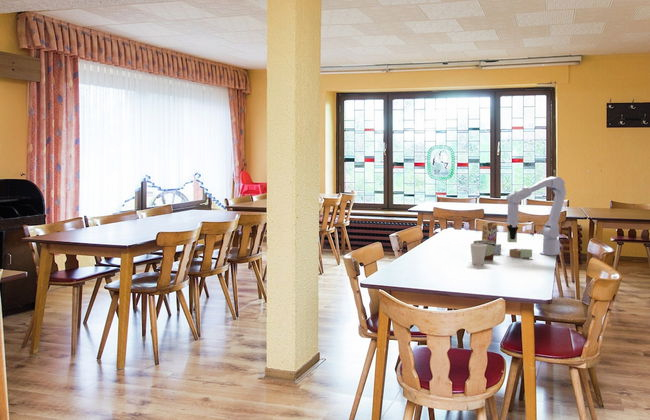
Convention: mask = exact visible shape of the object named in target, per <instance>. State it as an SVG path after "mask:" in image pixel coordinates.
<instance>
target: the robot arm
mask: <svg viewBox="0 0 650 420" xmlns="http://www.w3.org/2000/svg"><path fill="white" fill-rule="evenodd" d="M565 183H566V182H565V180H564V179H563V178H562V177H559V176H553V175H552V176H548V177H545V178H543V179H542V180H539V181H538V182H536V183H534V184H533V185H531V186H522V187H521V188H520V189H518V190H514V191H513V192H511V193H509V194H508V195H507V196H506V201H507V220H506V221H505V222H504V223H505V224H507V225H506V228H507V232H510V238H511V239H515V236H516V232H517V231H518V230H519V227H518V224H519V203H520V202H521V201H523V200H525V199H527V198H529V197H531V195H532V193H533V192H536V191H538V190H540V189H541V190H542V189H543V188H549V189H550V190H552V192H554V197H553V201H552V206H551V210H550V213H549V217H548V221H546V222H545V225H544V226H543V228H542V229H541V234H542V236H543V242H542V252H539V254H540V255H544V256H557V255H562V253H561V241H560V240H559V239H558V237H559V236H560V231H559V229H560V225H559V220H560V218H561V217H560V216H561V213H562V209H563V205H564V202H565V199H566V195H567V190H566V186H565ZM517 233H518V232H517Z"/></svg>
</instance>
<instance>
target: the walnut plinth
mask: <svg viewBox="0 0 650 420" xmlns="http://www.w3.org/2000/svg"><path fill="white" fill-rule="evenodd" d="M521 249H522V248H511V249H509V257H511V258H517V259H518V258H519V259H520V258H521V257H520V253H521Z"/></svg>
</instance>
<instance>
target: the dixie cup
mask: <svg viewBox="0 0 650 420" xmlns="http://www.w3.org/2000/svg"><path fill="white" fill-rule="evenodd" d="M469 246H470V253H471V263H473V265H478V264H479V265H480V264H481V265H484V264H485V261H484V258H485V251H486V246H487V245H486V244H480V243H470V245H469Z"/></svg>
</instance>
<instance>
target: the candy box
mask: <svg viewBox="0 0 650 420" xmlns="http://www.w3.org/2000/svg"><path fill="white" fill-rule="evenodd" d="M497 232H498V222H497V221H484V222H482V231H481V233H482V235H481V240H484V241H494V242H495V243H496V244H497V239H498V238H497Z"/></svg>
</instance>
